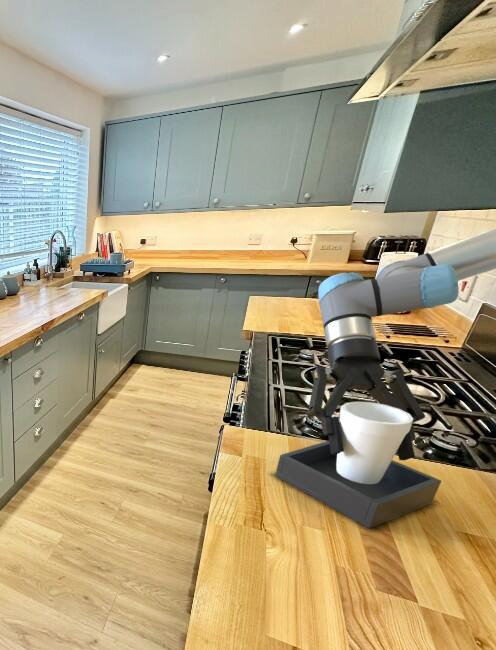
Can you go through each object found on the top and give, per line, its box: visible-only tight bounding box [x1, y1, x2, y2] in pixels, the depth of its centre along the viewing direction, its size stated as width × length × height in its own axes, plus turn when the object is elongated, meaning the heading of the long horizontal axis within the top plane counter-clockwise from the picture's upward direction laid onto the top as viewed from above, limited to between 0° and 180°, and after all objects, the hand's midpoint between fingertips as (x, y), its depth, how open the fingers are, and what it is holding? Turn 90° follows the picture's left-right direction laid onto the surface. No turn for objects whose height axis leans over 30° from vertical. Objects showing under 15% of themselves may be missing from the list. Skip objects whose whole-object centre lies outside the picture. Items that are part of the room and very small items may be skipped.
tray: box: [274, 440, 442, 529], centre depth 80 cm, size 17×17×5 cm
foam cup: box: [336, 401, 413, 484], centre depth 76 cm, size 10×9×13 cm
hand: (371, 455), depth 74 cm, fingers closed on foam cup, 10 cm apart
